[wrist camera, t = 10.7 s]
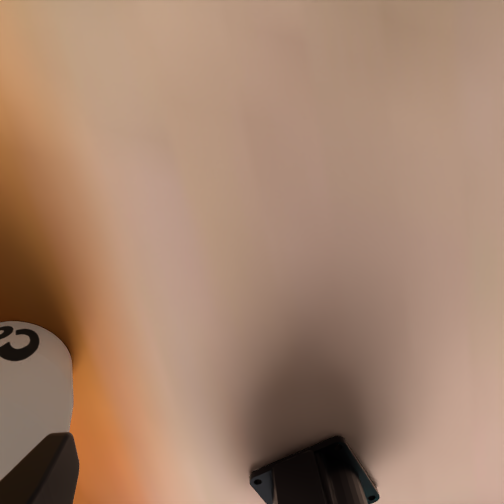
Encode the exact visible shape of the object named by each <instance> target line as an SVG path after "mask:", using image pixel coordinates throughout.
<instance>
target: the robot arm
mask: <svg viewBox="0 0 504 504" xmlns="http://www.w3.org/2000/svg"><path fill="white" fill-rule="evenodd" d="M338 444H339V445H338ZM78 474H79V459H78V455H77V450H76V446H75V442H74V438H73V435H72V434H71V433H70V432H59V433H50V434H48V435H47V436H46V437H45V438H44V439H43V440H42V441H41V442H40V443H38V444H37V445H36V446H35V447H34V448H33V449H32V450H31V451H30V452H29V453H28V454H27V455H26V456H25V457H24V458H23V459H22V460H21V461H20V462H19V463H18V464H17V465H16V466H15V467H14V468H13V469H12V470H11V471H10V472H9V473H8V474H7V475H6V476H5V477H4V478H2V479H1V480H0V504H73V499H74V494H75V489H76V484H77V479H78ZM249 479H250V485H251V486H252V487H253V488H254V490H255V491H256V492H257V493H258V494H259V495H260V497H261V498H262V499H263V500H264V501H265V502H266V504H371V503H374V502H376V501H378V499H379V494H378V491H377V489H376V487H375V485H374V484H373V482H372V481H371V479H370V478H369V476H368V475H367V473H366V472H365V470H364V468H363V467H362V465H361V464H360V462H359V461H358V459H357V458H356V456H355V455H354V453H353V451H352V450H351V448H350V447H349V445H348V444H347V442H346V441H345V439H344V438H343V437H341V436H335V437H332V438H330V439H328V440H326V441H323V442H321V443H319V444H316V445H314V446H312V447H309V448H307V449H305V450H302V451H300V452H298V453H296V454H293V455H291V456H289V457H286V458H284V459H282V460H279V461H277V462H275V463H272V464H270V465H268V466H266V467H263V468H261V469H259V470H256V471H254V472H252V473H251V474H250V476H249Z"/></svg>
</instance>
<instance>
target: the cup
mask: <svg viewBox="0 0 504 504" xmlns="http://www.w3.org/2000/svg"><path fill="white" fill-rule="evenodd" d="M72 410H73V372H72V359H71V356H70V353H69V351H68V349H67V347H66V346H65V345H64V343H63V342H62V341H61V340H60V339H59V338H58V337H57V336H55V335H54V334H53V333H51V332H50V331H48V330H46V329H44V328H42V327H40V326H37V325H34V324H31V323H27V322H20V321H7V322H0V480H1V479H2V478H4V477H5V476H6V475H7V474H8V473H9V472H10V471H11V470H12V469H13V468H14V467H15V466H16V465H17V464H18V463H19V462H20V461H21V460H22V459H23V458H24V457H25V456H26V455H27V454H28V453H29V452H30V451H31V450H32V449H33V448H34V447H35V446H36V445H37V444H38V443H40V442H41V441H42V440H43V439H44V438H45V437H46V436H47V435H48V434H50V433H59V432H69V429H70V423H71V416H72Z"/></svg>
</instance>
